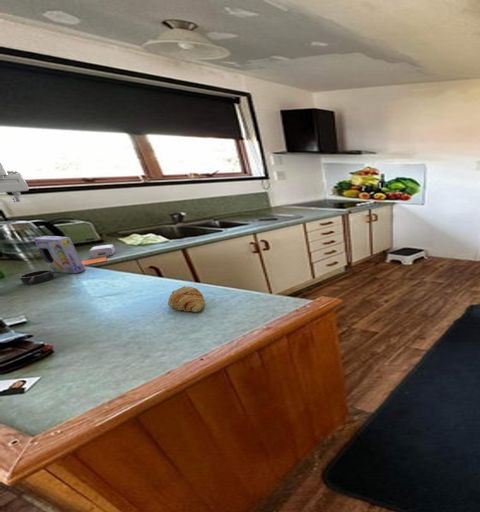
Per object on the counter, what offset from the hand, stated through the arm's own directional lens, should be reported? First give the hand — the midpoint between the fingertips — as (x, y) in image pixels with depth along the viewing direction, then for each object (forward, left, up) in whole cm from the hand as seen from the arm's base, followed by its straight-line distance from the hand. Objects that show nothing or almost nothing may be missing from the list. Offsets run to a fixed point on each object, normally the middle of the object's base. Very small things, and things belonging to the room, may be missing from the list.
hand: (3, 203), depth 123 cm
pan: (+3, -18, -34) cm, 39 cm away
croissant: (+47, -96, -34) cm, 112 cm away
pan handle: (+3, -27, -32) cm, 41 cm away
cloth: (+20, +1, -34) cm, 39 cm away
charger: (+24, +17, -34) cm, 45 cm away
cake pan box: (+11, -10, -34) cm, 37 cm away
